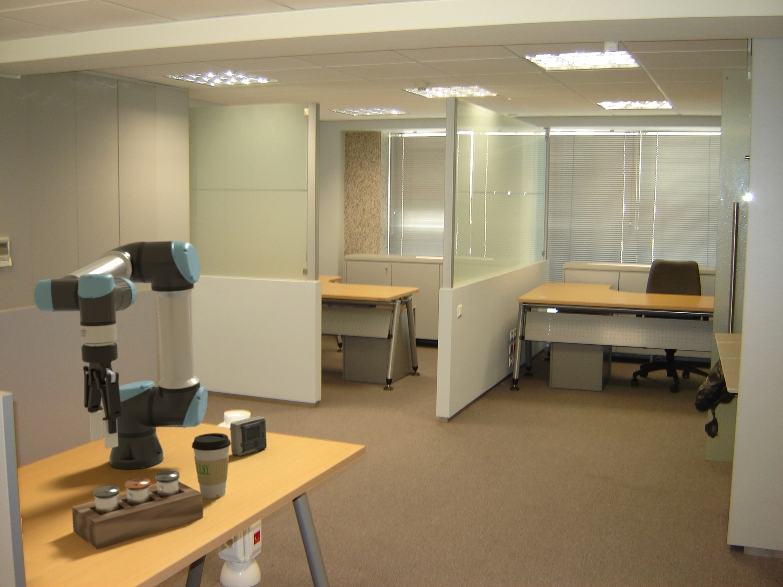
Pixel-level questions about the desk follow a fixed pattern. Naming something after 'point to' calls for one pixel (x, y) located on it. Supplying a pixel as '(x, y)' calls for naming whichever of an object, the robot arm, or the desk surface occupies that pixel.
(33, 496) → the desk surface
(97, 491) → the grey plunger front
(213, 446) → the coffee cup
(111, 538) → the wooden jar holder
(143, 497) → the terracotta plunger
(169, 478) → the ball
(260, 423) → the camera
